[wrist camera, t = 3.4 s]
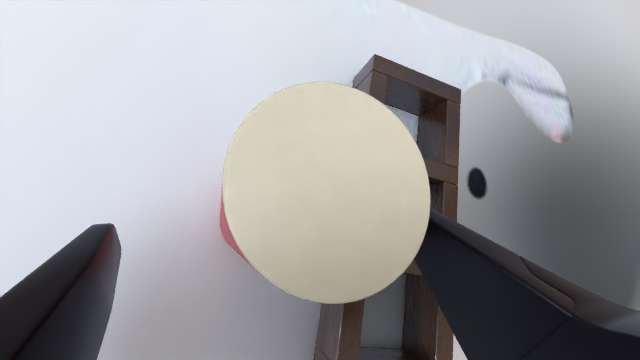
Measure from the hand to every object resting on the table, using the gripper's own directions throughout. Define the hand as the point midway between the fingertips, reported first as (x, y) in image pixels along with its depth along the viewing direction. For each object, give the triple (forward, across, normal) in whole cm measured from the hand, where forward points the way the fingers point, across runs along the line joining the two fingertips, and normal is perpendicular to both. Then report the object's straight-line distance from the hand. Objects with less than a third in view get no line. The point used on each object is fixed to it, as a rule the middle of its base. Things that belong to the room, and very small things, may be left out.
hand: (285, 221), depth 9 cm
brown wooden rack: (+6, -9, +6) cm, 12 cm away
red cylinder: (+6, 0, +6) cm, 8 cm away
